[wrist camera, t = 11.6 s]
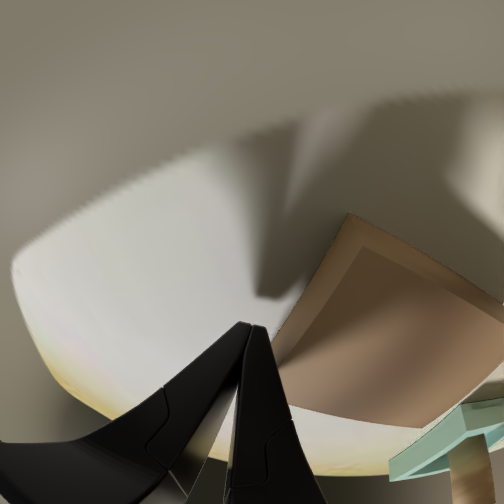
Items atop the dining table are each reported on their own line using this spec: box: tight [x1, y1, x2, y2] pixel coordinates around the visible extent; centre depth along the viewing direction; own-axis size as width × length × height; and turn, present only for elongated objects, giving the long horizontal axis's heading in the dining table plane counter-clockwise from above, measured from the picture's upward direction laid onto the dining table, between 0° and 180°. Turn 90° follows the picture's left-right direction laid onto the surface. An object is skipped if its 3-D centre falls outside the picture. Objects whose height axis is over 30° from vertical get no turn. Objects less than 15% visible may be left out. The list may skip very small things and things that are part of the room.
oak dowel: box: [447, 433, 495, 504], centre depth 8 cm, size 3×3×7 cm
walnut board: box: [271, 213, 504, 428], centre depth 8 cm, size 8×6×2 cm
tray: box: [389, 397, 504, 481], centre depth 11 cm, size 9×9×2 cm
